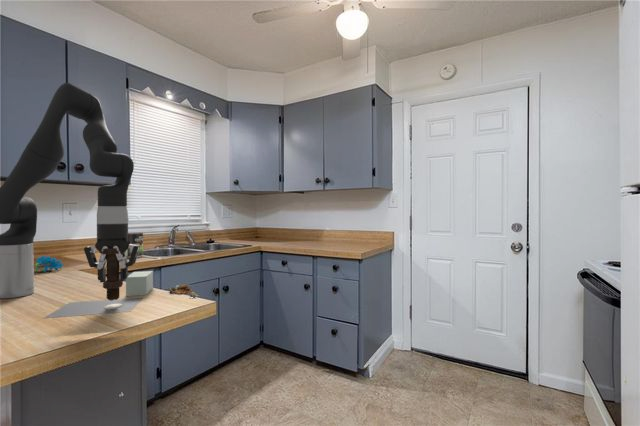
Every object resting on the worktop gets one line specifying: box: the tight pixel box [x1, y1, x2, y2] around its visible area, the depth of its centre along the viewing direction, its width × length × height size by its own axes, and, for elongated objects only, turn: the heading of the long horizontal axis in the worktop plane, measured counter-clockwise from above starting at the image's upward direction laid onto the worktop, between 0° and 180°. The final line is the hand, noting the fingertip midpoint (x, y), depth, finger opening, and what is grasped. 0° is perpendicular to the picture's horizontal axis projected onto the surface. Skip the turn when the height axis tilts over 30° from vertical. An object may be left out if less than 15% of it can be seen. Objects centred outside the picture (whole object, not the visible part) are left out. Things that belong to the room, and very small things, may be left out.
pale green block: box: [125, 270, 154, 297], centre depth 107 cm, size 6×9×7 cm, turn 16°
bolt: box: [100, 248, 124, 301], centre depth 90 cm, size 6×5×15 cm
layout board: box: [43, 297, 144, 319], centre depth 90 cm, size 20×14×1 cm
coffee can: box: [125, 232, 144, 259], centre depth 188 cm, size 10×10×14 cm
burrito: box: [168, 284, 199, 299], centre depth 107 cm, size 7×12×4 cm, turn 71°
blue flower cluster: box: [34, 255, 64, 273], centre depth 144 cm, size 11×6×10 cm
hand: (113, 280), depth 91 cm, fingers closed on bolt, 4 cm apart
